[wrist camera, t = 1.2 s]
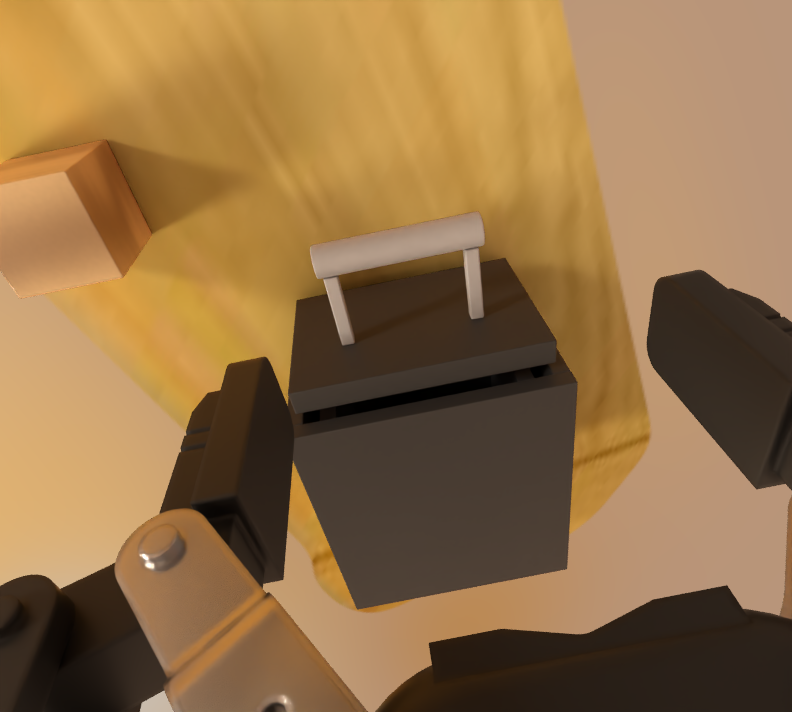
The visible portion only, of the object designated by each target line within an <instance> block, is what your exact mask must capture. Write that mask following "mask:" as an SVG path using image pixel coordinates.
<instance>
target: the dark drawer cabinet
mask: <svg viewBox="0 0 792 712" xmlns="http://www.w3.org/2000/svg"><path fill="white" fill-rule="evenodd" d="M530 370H531V372H532V374H533V376H534V379H529V380H524V381H519V382H514V383H509V384H504V385H499V386H494V387H489V388H484V389H479V390H474V391H469V392H464V393H458V394H453V395H448V396H443V397H438V398H433V399H428V400H423V401H418V402H413V403H408V404H403V405H398V406H393V407H388V408H383V409H378V410H373V411H368V412H363V413H358V414H353V415H348V416H343V417H338V418H333V419H328V420H323V421H320V409H319V410H314V411H309V412H304V413H299V414H296V413H295V411H294V408H293V406H292V403H291V401H290V398H288V409H289V412H290V415H291V418H292V423H293V428H294V451H293V462H294V464H295V466H296V469H297V471H298V473H299V476H300V478H301V480H302V483H303V485H304V487H305V489H306V492H307V494H308V496H309V499H310V501H311V503H312V506H313V508H314V510H315V513H316V515H317V517H318V520H319V522H320V524H321V527H322V529H323V531H324V534H325V536H326V538H327V541H328V543H329V545H330V548H331V550H332V552H333V554H334V557H335V559H336V561H337V564H338V566H339V568H340V571H341V573H342V575H343V578H344V580H345V582H346V585H347V587H348V589H349V592H350V594H351V596H352V599H353V601H354V603H355V606H356V608H357V609H363V608H368V607H373V606H378V605H383V604H389V603H394V602H399V601H404V600H409V599H414V598H420V597H425V596H430V595H435V594H440V593H445V592H451V591H456V590H461V589H466V588H471V587H477V586H481V585H487V584H492V583H497V582H503V581H507V580H513V579H518V578H523V577H528V576H534V575H539V574H544V573H549V572H554V571H560V570H565V569H567V560H568V541H569V525H570V507H571V489H572V472H573V454H574V436H575V419H576V401H577V383H578V382H577V381H576V379H575V377H574V376H573V374H572V372H571V371H570V370H569V368H568V366H567V365H566V363H565V361H564V360H563V358H562V356H561V355H560V353H559V352H558V350H557V348H556V362H555V363H550V364H545V365H540V366H535V367H530Z"/></svg>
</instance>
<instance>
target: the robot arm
mask: <svg viewBox="0 0 792 712" xmlns="http://www.w3.org/2000/svg"><path fill="white" fill-rule="evenodd" d="M647 351H648V356H649V359H650V361H651V364H652V366H653V368H654V369H655V370H656V372H657V373H658V374H659V375H660V376H661V378H662V379H663V380H664V381H665V382H666V383H667V385H668V386H669V387H670V388H671V389H672V391H673V392H674V393H675V394H676V395H677V396H678V398H679V399H680V400H681V401H682V402H683V404H684V405H685V406H686V407H687V408H688V409H689V411H690V412H691V413H692V414H693V415H694V416H695V418H696V419H697V420H698V421H699V422H700V423H701V425H702V426H703V427H704V428H705V429H706V431H707V432H708V433H709V434H710V435H711V436H712V438H713V439H714V440H715V441H716V442H717V444H718V445H719V446H720V447H721V448H722V449H723V451H724V452H725V453H726V454H727V455H728V456H729V458H730V459H731V460H732V461H733V462H734V463H735V465H736V466H737V467H738V468H739V469H740V471H741V472H742V473H743V474H744V475H745V476H746V478H747V479H748V480H749V481H750V482H751V484H752V485H753V486H754V487H755V488H756V489H761V488H766V487H771V486H776V485H781V484H786V485H787V486H788V487H789V488H790V489H791V490H792V322H791V321H789V320H788V319H786V318H785V317H781V316H780V313H778V312H777V311H775V310H774V309H773V308H771V307H770V306H769V305H767V304H766V303H764V302H763V301H762V300H760V299H758V298H756V297H753V296H750V295H748V294H745V293H742V292H740V291H737V290H734V289H727V288H726V287H725V286H723V285H722V284H720V283H719V282H718V281H717V280H715V279H714V278H713V277H711V276H710V275H709V274H707V273H706V272H704V271H702V270H695V271H691V272H685V273H680V274H675V275H671V276H666V277H661V278H659V279H658V280H657V282H656V284H655V287H654V292H653V299H652V307H651V314H650V322H649V328H648V336H647ZM186 434H187V435H186V436H184V439H183V442H182V445H181V452H180V453H179V455H178V458H177V461H176V464H175V467H174V470H173V473H172V476H171V479H170V483H169V485H168V489H167V491H166V495H165V498H164V501H163V504H162V507H161V510H160V514H159V515H157V516H155V517H153V518H151V519H150V520H148V521H146V522H145V523H144V524H142V525H141V526H140V527H139V528H138V529H137V530H135V531H134V532H133V533H132V534H131V536H130V537H129V538H128V539H127V540H126V542H125V543H124V545H123V546H122V548H121V550H120V551H119V553H118V556H117V559H116V562H115V563H113V564H112V565H110V566H108V567H106V568H104V569H102V570H99V571H97V572H95V573H93V574H91V575H89V576H87V577H85V578H83V579H80V580H78V581H76V582H74V583H72V584H70V585H68V586H66V587H63V588H61V589H59V588H58V587H57V586H56V585H55V584H54V583H53V582H52V581H51V580H50V579H49V578H47V577H45V576H42V575H27V576H23V577H19V578H16V579H14V580H11V581H9V582H7V583H5V584H4V585H1V586H0V712H140V708H141V703H142V702H144V701H145V700H147V699H149V698H151V697H153V696H155V695H156V694H158V693H160V692H162V691H164V690H165V693H166V696H167V698H168V700H169V702H170V704H171V706H172V709H173V711H174V712H368V711H367V710H366V709H365V708H364V706H363V705H362V704H361V703H360V701H359V700H358V699H357V698H356V697H355V695H354V694H353V693H352V692H351V690H350V689H349V688H348V687H347V686H346V684H345V683H344V682H343V681H342V679H341V678H340V677H339V676H338V674H337V673H336V672H335V671H334V670H333V668H332V667H331V666H330V665H329V663H328V662H327V661H326V660H325V658H324V657H323V656H322V655H321V654H320V652H319V651H318V650H317V649H316V648H315V646H314V645H313V644H312V643H311V641H310V640H309V639H308V638H307V636H306V635H305V634H304V633H303V632H302V630H301V629H300V628H299V627H298V625H297V624H296V623H295V622H294V620H293V619H292V618H291V617H290V616H289V614H288V613H287V612H286V611H285V609H284V608H283V607H282V606H281V604H280V603H279V602H278V601H277V600H276V599H275V598H274V596H272V595H271V594H270V593H266V592H265V591H264V590H263V584H265V583H270V582H275V581H280V580H283V577H284V564H285V552H286V538H287V527H288V514H289V501H290V489H291V476H292V464H293V451H294V428H293V423H292V418H291V415H290V412H289V409H288V406H287V404H286V401H285V399H284V396H283V394H282V391H281V389H280V386H279V383H278V381H277V378H276V376H275V373H274V371H273V368H272V366H271V364H270V362H269V360H268V359H267V358H266V357H261V358H256V359H251V360H246V361H241V362H236V363H231V364H229V365H228V366H227V369H226V372H225V376H224V380H223V383H222V387H221V390H220V391H215V392H210V393H207V395H206V396H205V397H204V398H203V400H202V401H201V402H200V403H199V404H198V406H197V407H196V408H195V409H194V411H193V412H192V415H191V418H190V421H189V424H188V427H187V430H186ZM786 547H787V548H786V571H785V591H784V598H783V604H782V608H781V612H780V615H779V616H778V615H775V614H771V613H765V612H760V611H754V610H748V609H742V607H741V606H740V604H739V603H738V601H737V600H736V598H735V597H734V595H733V594H732V592H731V591H730V589H729V588H728V586H722V587H716V588H711V589H706V590H701V591H696V592H691V593H685V594H680V595H675V596H670V597H664V598H660V599H654V600H652V601H650V602H648V603H646V604H644V605H642V606H640V607H638V608H636V609H635V610H632V611H631V612H629V613H627V614H625V615H623V616H622V617H619V618H617V619H615V620H613V621H611V622H610V623H608V624H606V625H604V626H602V627H600V628H598V629H596V630H594V631H592V632H590V633H587V634H563V633H549V632H537V631H523V630H510V629H509V630H508V629H498V630H493V631H488V632H483V633H477V634H472V635H467V636H462V637H457V638H451V639H446V640H441V641H436V642H431V643H429V648H430V654H431V661H432V666H429V667H427V668H425V669H424V670H422V671H420V672H418V673H417V674H415V675H414V676H412V677H411V678H410V679H408V680H407V681H405V682H404V683H403V684H401V685H400V686H399V687H398V688H397V689H396V690H395V691H394V692H393V693H392V694H390V695H389V696H388V697H387V699H386V700H385V701H384V702H383V703H382V704H381V706H380V707H379V708H378V709H377V710H376V712H792V496H791V498H790V501H789V505H788V522H787V546H786Z"/></svg>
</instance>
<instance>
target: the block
mask: <svg viewBox="0 0 792 712" xmlns="http://www.w3.org/2000/svg"><path fill="white" fill-rule="evenodd" d="M151 235H152V233H151V231H150V229H149V227H148V225H147V223H146V221H145V219H144V217H143V215H142V213H141V211H140V208H139V206H138V204H137V202H136V200H135V198H134V196H133V194H132V192H131V190H130V188H129V186H128V184H127V182H126V180H125V178H124V175H123V173H122V171H121V169H120V167H119V165H118V163H117V161H116V159H115V157H114V155H113V153H112V151H111V149H110V147H109V145H108V143H107V141H106V140H101V141H96V142H92V143H87V144H82V145H77V146H73V147H68V148H63V149H58V150H53V151H49V152H44V153H39V154H34V155H29V156H25V157H20V158H15V159H10V160H6V161H5V162H3V163H1V164H0V271H1V273H2V274H3V276H4V277H5V278H6V280H7V281H8V283H9V284H10V285H11V287H12V288H13V290H14V291H15V293H16V294H17V296H18V297H19V298H20V299H22V298H27V297H31V296H36V295H41V294H46V293H51V292H56V291H61V290H66V289H71V288H75V287H80V286H85V285H90V284H95V283H100V282H105V281H110V280H114V279H119V278H123V277H124V276H125V275H126V273H127V272H128V270H129V268H130V267H131V265H132V264H133V262H134V261H135V259H136V258H137V256H138V255H139V253H140V252H141V250H142V249H143V247H144V246H145V244H146V243H147V241H148V240H149V238H150V237H151Z"/></svg>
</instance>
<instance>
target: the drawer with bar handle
mask: <svg viewBox="0 0 792 712" xmlns="http://www.w3.org/2000/svg"><path fill="white" fill-rule="evenodd" d="M484 243H485V232H484V225H483V221H482V217H481V215H480V213H479V212H477V211H476V212H471V213H467V214H462V215H457V216H452V217H447V218H442V219H437V220H432V221H427V222H423V223H418V224H413V225H408V226H403V227H398V228H393V229H388V230H383V231H379V232H374V233H369V234H364V235H359V236H354V237H349V238H344V239H339V240H335V241H330V242H325V243H320V244H315V245H311V246H310V254H311V260H312V264H313V268H314V272H315V274H316V277H317V278H318V279H322V278H324V284H325V287H326V291H327V294H325V295H320V296H315V297H310V298H305V299H300V300H297V303H296V313H295V324H294V335H293V346H292V357H291V368H290V379H289V389H288V396H289V398H290V401H291V403H292V406H293V408H294V411H295V413H296V414H299V413H304V412H309V411H314V410H319V409H320V421H323V420H328V419H333V418H338V417H343V416H348V415H353V414H358V413H363V412H368V411H373V410H378V409H383V408H388V407H393V406H398V405H403V404H408V403H413V402H418V401H423V400H428V399H433V398H438V397H443V396H448V395H453V394H458V393H464V392H469V391H474V390H479V389H484V388H489V387H494V386H499V385H504V384H509V383H514V382H519V381H524V380H529V379H534V376H533V374H532V372H531V370H530V367H535V366H540V365H545V364H550V363H555V362H556V342H557V341H556V339H555V337H554V336H553V334H552V333H551V331H550V329H549V328H548V326H547V325H546V323H545V321H544V320H543V318H542V316H541V315H540V313H539V312H538V310H537V308H536V307H535V305H534V304H533V302H532V300H531V299H530V297H529V296H528V294H527V292H526V291H525V289H524V287H523V286H522V284H521V283H520V281H519V279H518V278H517V276H516V275H515V273H514V271H513V270H512V268H511V266H510V265H509V263H508V262H507V260H506V258H502V259H498V260H493V261H488V262H483V263H480V257H479V248H478V247H479V246H483V245H484ZM459 250H463V258H464V266H463V267H458V268H453V269H448V270H443V271H438V272H433V273H429V274H424V275H419V276H414V277H409V278H404V279H399V280H394V281H389V282H384V283H379V284H374V285H369V286H364V287H360V288H355V289H350V290H345V291H342V288H341V284H340V280H339V276H338V275H341V274H346V273H351V272H356V271H361V270H366V269H371V268H376V267H381V266H386V265H391V264H395V263H400V262H405V261H410V260H415V259H420V258H425V257H430V256H435V255H440V254H445V253H450V252H454V251H459Z"/></svg>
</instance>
